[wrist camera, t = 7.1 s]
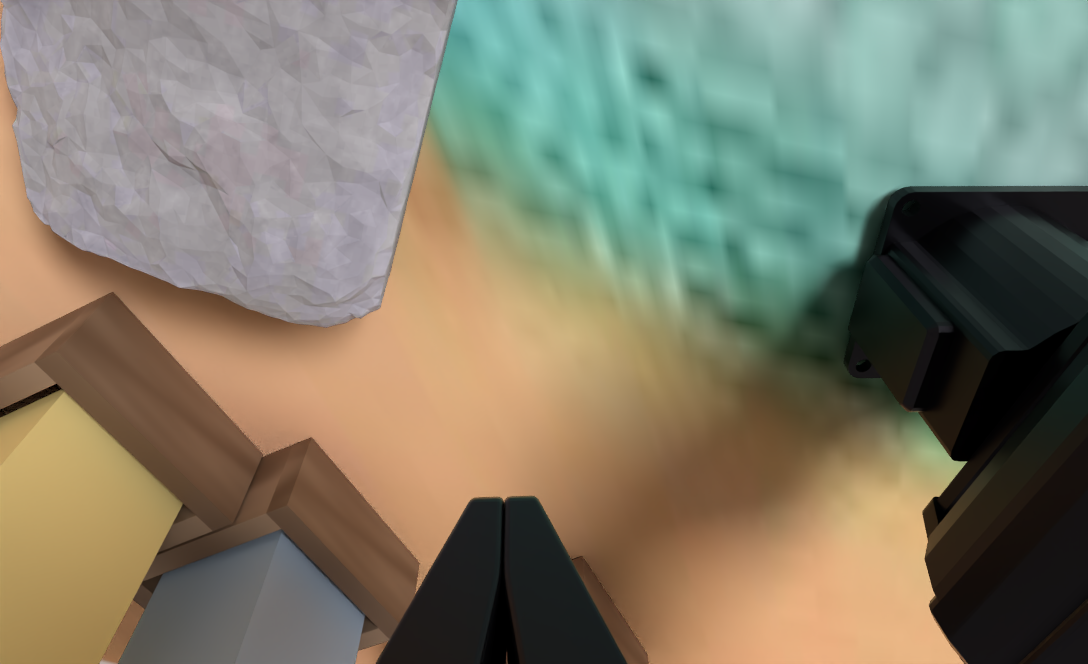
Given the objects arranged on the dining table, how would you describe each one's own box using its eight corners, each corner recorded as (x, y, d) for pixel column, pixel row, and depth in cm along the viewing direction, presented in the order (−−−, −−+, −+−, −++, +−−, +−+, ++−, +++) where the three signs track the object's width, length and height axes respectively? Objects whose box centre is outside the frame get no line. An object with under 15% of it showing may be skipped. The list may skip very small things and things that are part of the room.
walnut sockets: (334, 183, 21) (306, 232, 18) (647, 654, 33) (658, 724, 30) (-65, 378, 24) (-139, 444, 21) (357, 740, 36) (344, 810, 34)
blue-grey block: (299, 482, 26) (228, 682, 20) (375, 566, 28) (333, 766, 22) (186, 526, 27) (85, 729, 21) (269, 603, 29) (201, 804, 23)
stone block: (109, 189, 23) (415, 298, 23) (-21, 243, 18) (356, 377, 18) (115, -285, 17) (524, -136, 17) (-71, -364, 13) (475, -166, 13)
